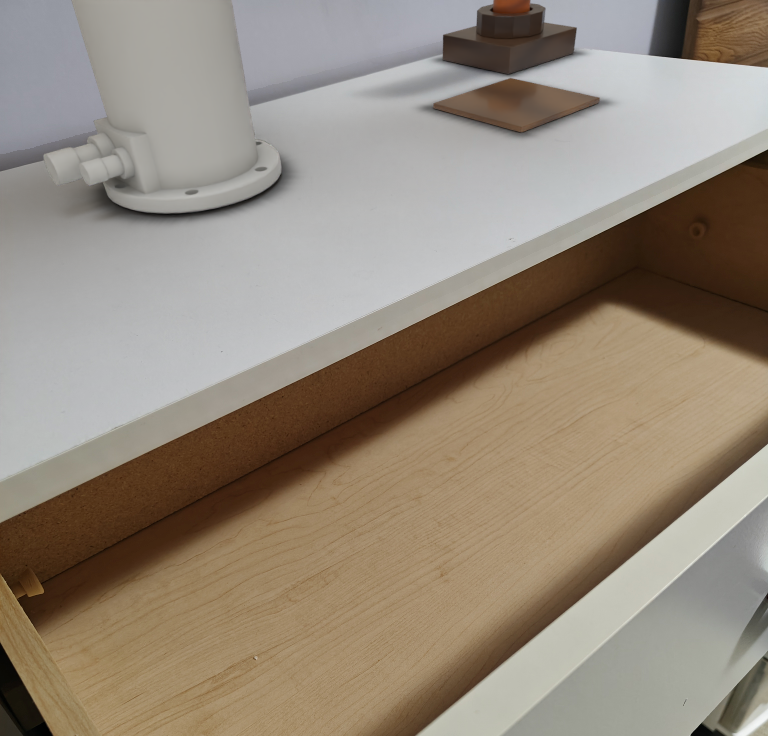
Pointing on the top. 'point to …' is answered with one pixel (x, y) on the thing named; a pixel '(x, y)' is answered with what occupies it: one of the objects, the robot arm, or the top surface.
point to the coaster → (516, 104)
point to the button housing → (509, 41)
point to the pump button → (511, 6)
